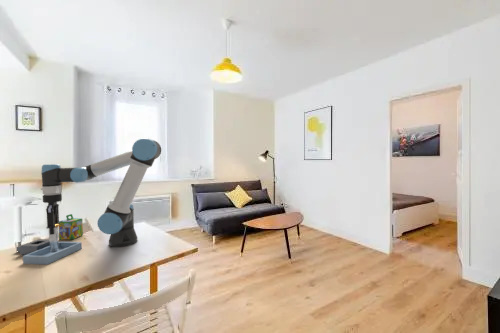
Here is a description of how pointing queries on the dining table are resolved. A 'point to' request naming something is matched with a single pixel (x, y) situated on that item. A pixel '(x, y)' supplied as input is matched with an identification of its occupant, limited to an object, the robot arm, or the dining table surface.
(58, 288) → the dining table surface
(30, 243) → the hitch block
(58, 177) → the robot arm
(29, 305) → the dining table surface
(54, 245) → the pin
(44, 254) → the tray
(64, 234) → the green lunch box
